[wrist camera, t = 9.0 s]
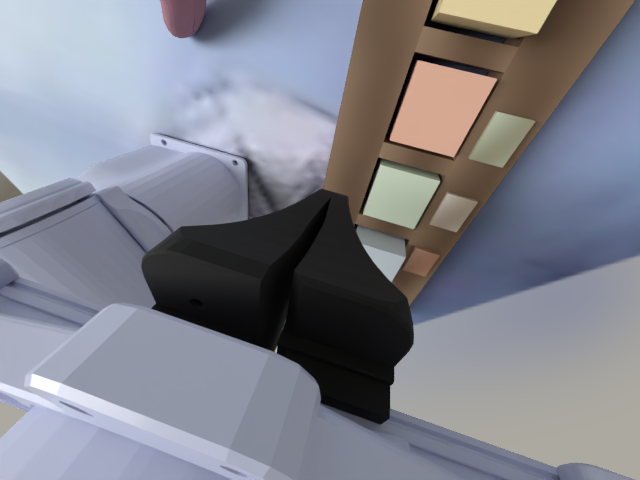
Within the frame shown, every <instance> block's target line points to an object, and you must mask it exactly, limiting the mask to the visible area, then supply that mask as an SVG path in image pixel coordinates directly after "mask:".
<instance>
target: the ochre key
mask: <svg viewBox="0 0 640 480" xmlns="http://www.w3.org/2000/svg"><path fill="white" fill-rule="evenodd" d="M556 1H557V0H438V2H437V4H436V7H435V10H434V13H433V16H432V18H431V21H432V22H436V23H441V24H445V25H450V26H454V27H459V28H463V29H468V30H472V31H477V32H481V33H486V34H490V35H495V36H499V37H504V38H508V39H513V38H518V37H523V36H528V35H534V34H537V33H538V32H539V30H540V28H541V27H542V25H543V23H544V22H545V20H546V18H547V16H548V15H549V13H550V11H551V10H552V8H553V6H554V5H555V3H556Z"/></svg>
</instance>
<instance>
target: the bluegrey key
mask: <svg viewBox="0 0 640 480" xmlns="http://www.w3.org/2000/svg"><path fill="white" fill-rule="evenodd" d="M356 232H357V234H358V237H359V239H360V241H361V243H362V245H363V247H364V248H365V250H366V252H367V253H368V255H369V256H370V258H371V259H372V260H373V262H374V263H375V264H376V266H377V267H378V268H379V269H380V270H381V272H382V273H383V274H384V275H385V276H386V277H387V278H388V279H389V280H390V281H391V282H392V280H393V279H394V277H395V275H396V274H397V272H398V270H399V269H400V267H401V265H402V263H403V262H404V260H405V258H406V251H405V238H401V237H398V236H395V235H391V234H388V233H385V232H381V231H378V230H374V229H371V228H368V227H364V226H361V225H358V226H357V229H356Z"/></svg>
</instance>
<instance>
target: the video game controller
mask: <svg viewBox="0 0 640 480" xmlns="http://www.w3.org/2000/svg"><path fill="white" fill-rule="evenodd" d="M160 2H161V7H162V13H163V18H164V22H165V24H166V26H167V28H168V30H169V31H170V33H171V34H172V35H173V36H175V37H178V38H187V37H190V36H192V35H193V34H194V33H195V32H196V31H197V30H198V28H199V26H200V24H201V22H202V21H203V17H204V14H205V7H206V0H160Z"/></svg>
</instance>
